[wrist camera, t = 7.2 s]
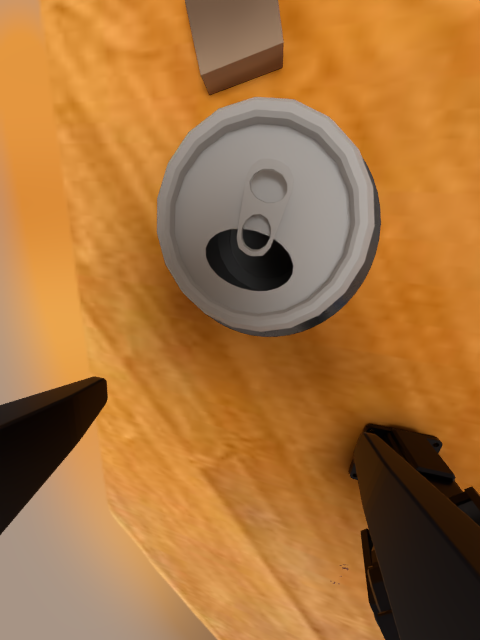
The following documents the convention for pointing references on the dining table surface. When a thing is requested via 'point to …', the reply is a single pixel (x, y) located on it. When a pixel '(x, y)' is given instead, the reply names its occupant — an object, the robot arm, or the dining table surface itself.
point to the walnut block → (235, 40)
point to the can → (265, 214)
